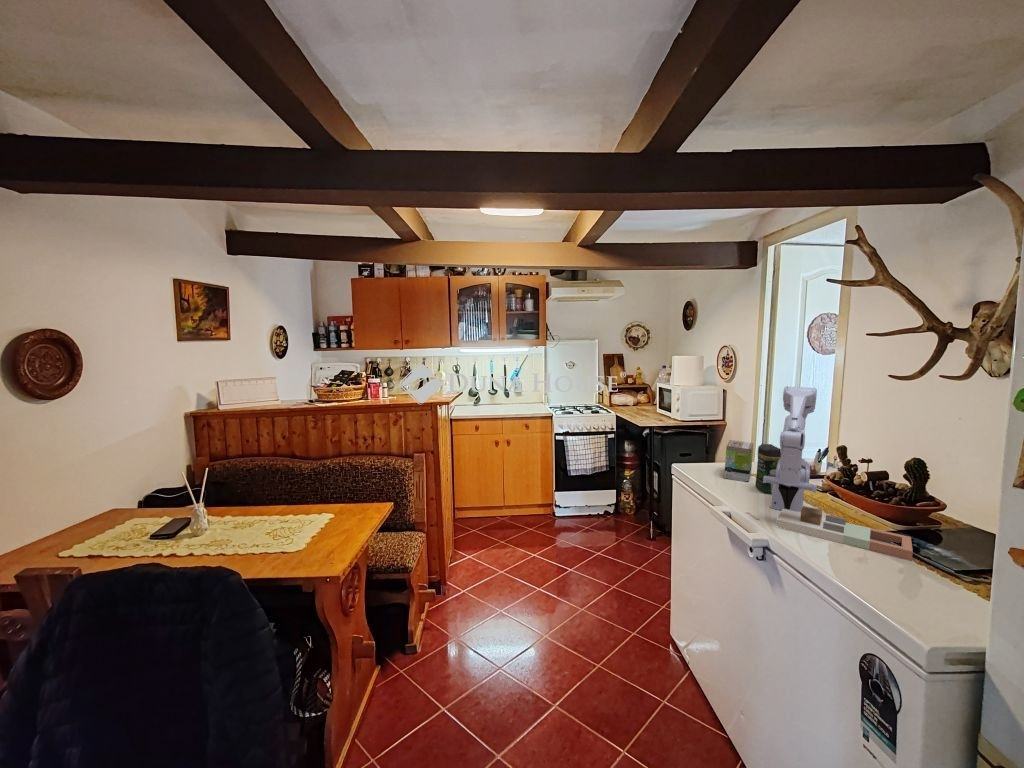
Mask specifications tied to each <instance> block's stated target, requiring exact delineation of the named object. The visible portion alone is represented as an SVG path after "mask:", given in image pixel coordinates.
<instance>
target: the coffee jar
mask: <svg viewBox="0 0 1024 768" xmlns="http://www.w3.org/2000/svg"><path fill="white" fill-rule="evenodd" d="M757 447H758V448H757V466H756V477H755V487H756V488H757V489H758V490H759V491H761V492H762V493H765V494H769V495H772V487H773V484H772V483H763V477H764V476H770V477H776V469H777V465H778V461H779V459H781V453H780V447H777V446H776V445H774V444H772V443H771V444H770V443H769V444H768V443H761V444H760V445H759V446H757Z"/></svg>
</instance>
